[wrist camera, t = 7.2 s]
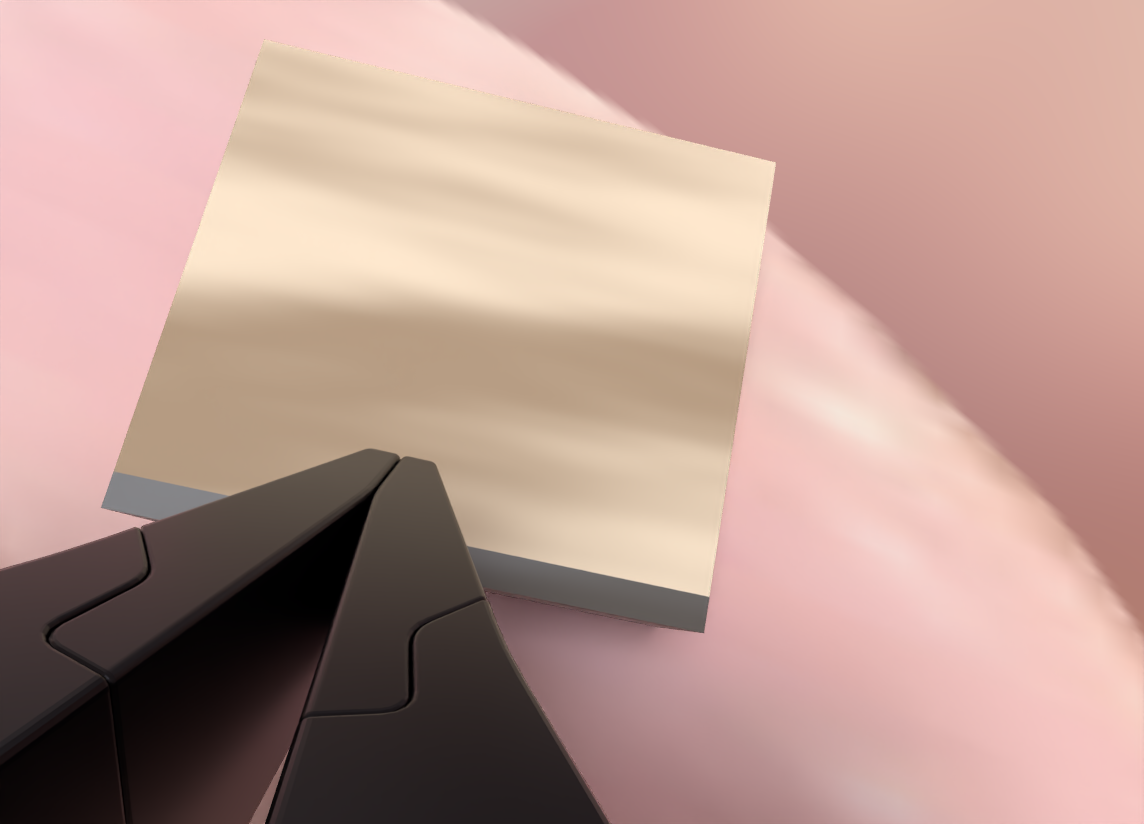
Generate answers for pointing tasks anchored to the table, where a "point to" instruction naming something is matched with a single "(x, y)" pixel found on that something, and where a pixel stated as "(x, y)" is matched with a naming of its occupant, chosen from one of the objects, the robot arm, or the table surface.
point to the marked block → (467, 326)
